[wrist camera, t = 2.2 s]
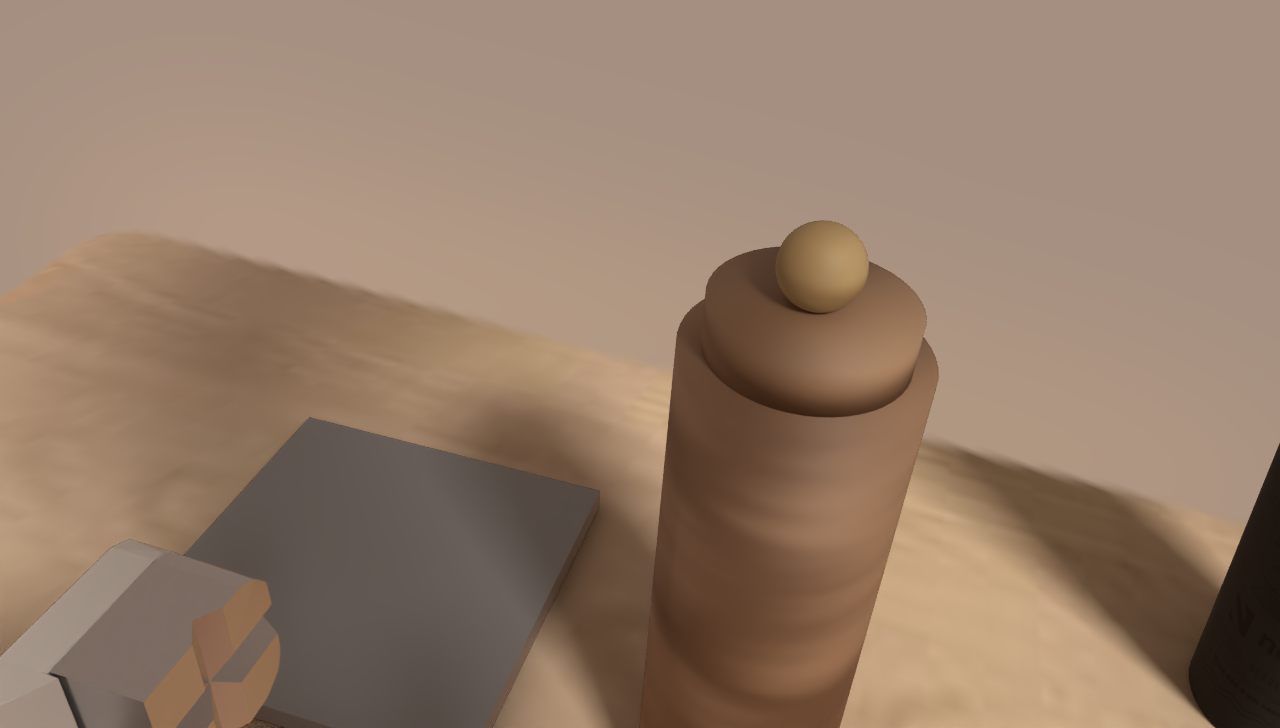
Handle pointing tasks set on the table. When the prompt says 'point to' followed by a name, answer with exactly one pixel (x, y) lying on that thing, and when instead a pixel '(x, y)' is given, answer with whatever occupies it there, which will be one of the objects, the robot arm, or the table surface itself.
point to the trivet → (397, 576)
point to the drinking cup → (1245, 626)
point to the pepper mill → (782, 482)
